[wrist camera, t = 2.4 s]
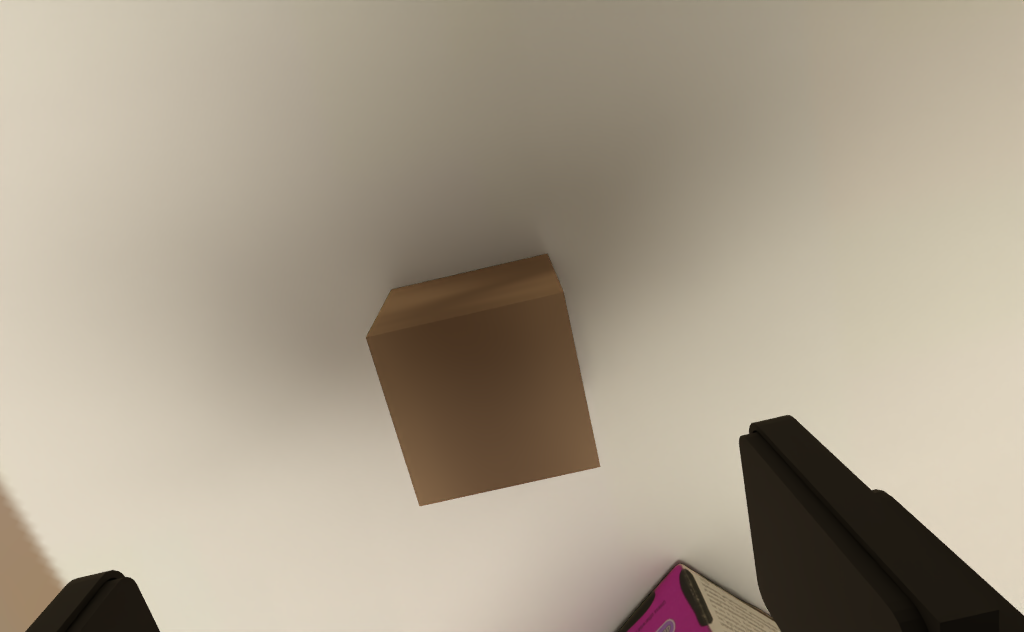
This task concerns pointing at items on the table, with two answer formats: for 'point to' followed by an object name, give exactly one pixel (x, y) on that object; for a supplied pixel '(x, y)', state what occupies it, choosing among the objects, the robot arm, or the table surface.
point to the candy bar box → (695, 608)
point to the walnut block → (483, 380)
